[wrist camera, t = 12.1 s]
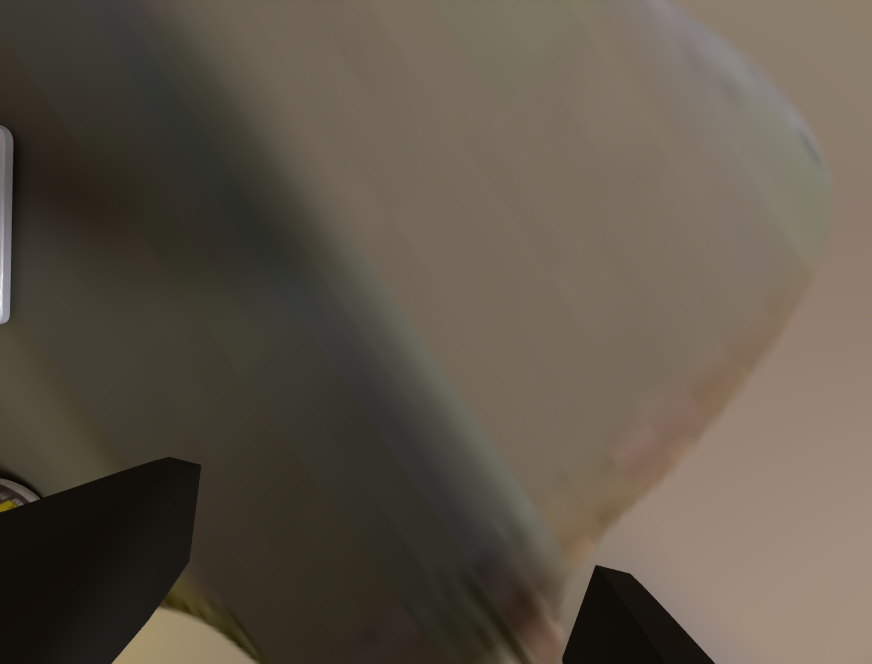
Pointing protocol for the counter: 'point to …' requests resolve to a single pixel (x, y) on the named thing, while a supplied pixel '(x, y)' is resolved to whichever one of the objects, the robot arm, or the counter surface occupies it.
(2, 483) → the supplement bottle
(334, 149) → the counter surface
